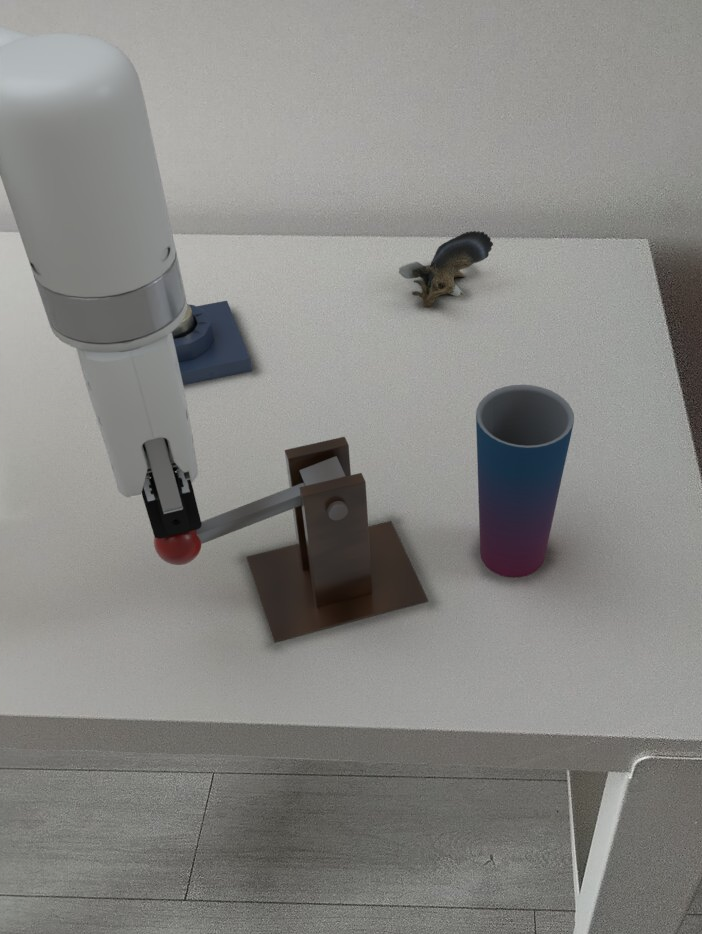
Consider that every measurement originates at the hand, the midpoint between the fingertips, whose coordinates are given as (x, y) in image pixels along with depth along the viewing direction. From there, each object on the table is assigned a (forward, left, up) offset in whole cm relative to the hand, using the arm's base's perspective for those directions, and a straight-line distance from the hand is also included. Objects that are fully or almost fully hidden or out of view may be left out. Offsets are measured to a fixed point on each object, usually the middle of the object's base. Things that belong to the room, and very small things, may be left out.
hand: (176, 525), depth 71 cm
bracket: (+11, 0, -11) cm, 15 cm away
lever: (+5, 0, -2) cm, 6 cm away
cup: (+25, -2, -11) cm, 27 cm away
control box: (+5, +33, -11) cm, 35 cm away
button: (+5, +33, -7) cm, 34 cm away
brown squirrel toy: (+33, +35, -11) cm, 49 cm away
